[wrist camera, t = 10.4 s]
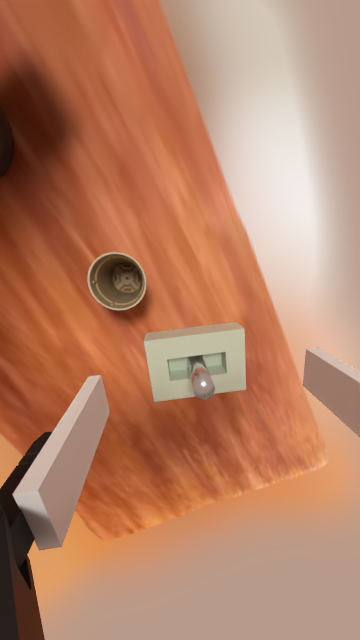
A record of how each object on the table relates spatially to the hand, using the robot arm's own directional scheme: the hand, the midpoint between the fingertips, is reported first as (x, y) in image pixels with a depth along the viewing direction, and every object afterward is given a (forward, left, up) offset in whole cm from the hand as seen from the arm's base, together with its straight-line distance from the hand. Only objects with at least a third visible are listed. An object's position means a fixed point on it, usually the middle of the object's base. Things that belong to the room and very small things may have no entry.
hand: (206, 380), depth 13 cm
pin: (+14, +2, -30) cm, 33 cm away
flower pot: (-5, -10, -32) cm, 33 cm away
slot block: (+14, +2, -31) cm, 34 cm away
